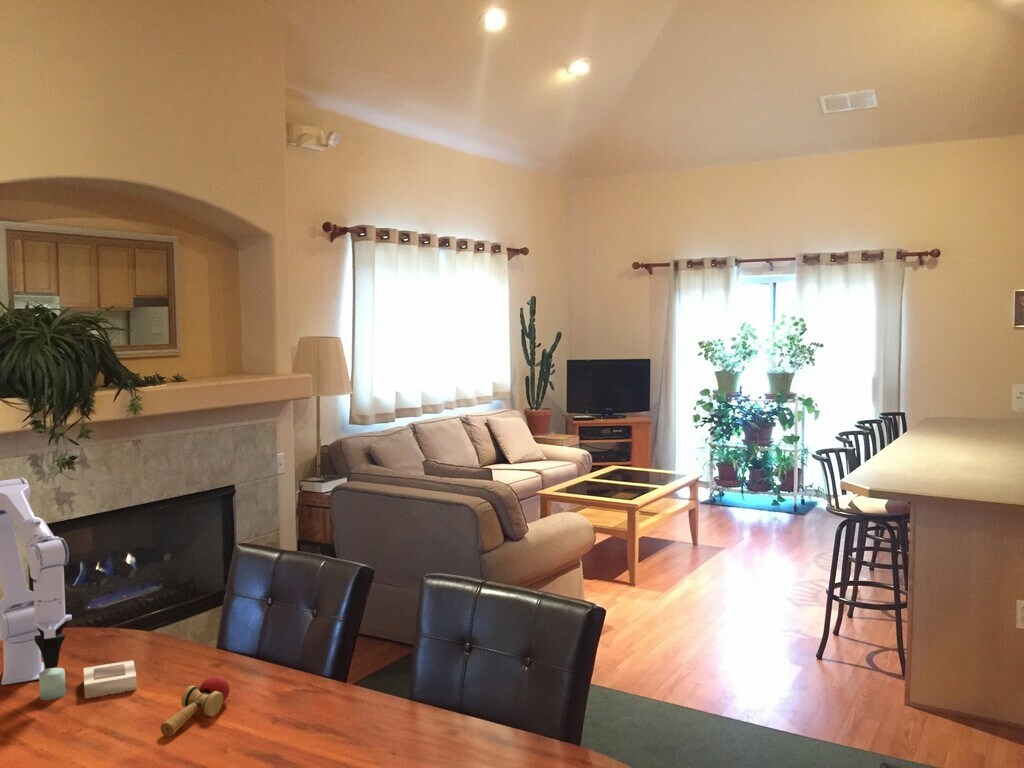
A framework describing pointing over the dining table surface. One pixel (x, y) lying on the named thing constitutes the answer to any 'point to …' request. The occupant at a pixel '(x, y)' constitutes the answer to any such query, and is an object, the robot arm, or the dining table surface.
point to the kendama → (198, 702)
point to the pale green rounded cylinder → (52, 683)
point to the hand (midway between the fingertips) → (51, 661)
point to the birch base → (109, 679)
